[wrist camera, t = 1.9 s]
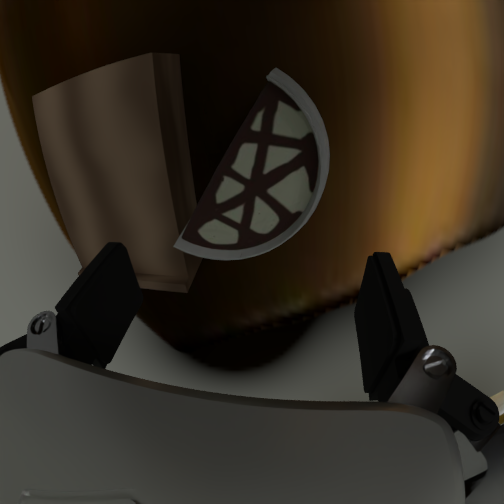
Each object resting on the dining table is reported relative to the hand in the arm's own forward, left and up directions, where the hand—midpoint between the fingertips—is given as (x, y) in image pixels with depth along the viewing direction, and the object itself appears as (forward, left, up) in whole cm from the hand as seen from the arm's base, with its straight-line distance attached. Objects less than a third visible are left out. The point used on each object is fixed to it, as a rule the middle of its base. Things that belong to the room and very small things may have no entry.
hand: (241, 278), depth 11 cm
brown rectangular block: (+14, 0, -15) cm, 21 cm away
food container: (0, -1, -16) cm, 16 cm away
